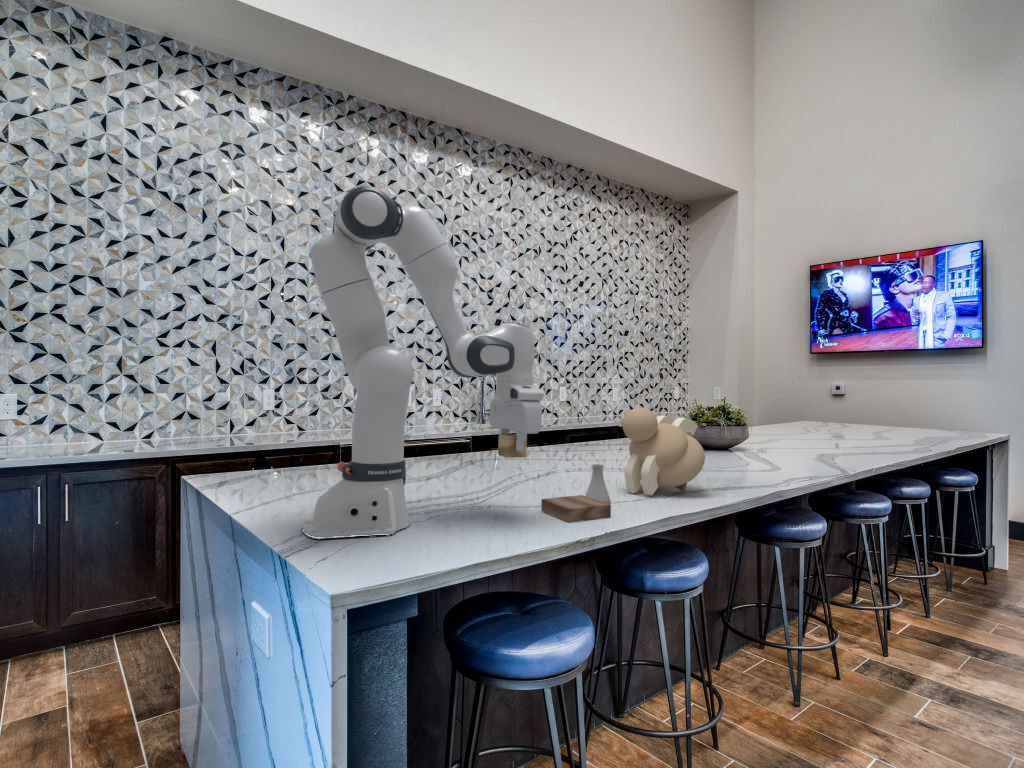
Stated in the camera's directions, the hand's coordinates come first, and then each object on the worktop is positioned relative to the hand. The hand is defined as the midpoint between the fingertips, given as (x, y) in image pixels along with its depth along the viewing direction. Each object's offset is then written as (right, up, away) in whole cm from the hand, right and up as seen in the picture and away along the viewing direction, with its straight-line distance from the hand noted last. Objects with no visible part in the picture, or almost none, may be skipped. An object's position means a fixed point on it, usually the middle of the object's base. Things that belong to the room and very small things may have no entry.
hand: (512, 449), depth 139 cm
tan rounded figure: (+45, -16, +32) cm, 57 cm away
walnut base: (+15, -16, +2) cm, 22 cm away
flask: (+23, -16, +16) cm, 32 cm away
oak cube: (0, -2, 0) cm, 2 cm away
